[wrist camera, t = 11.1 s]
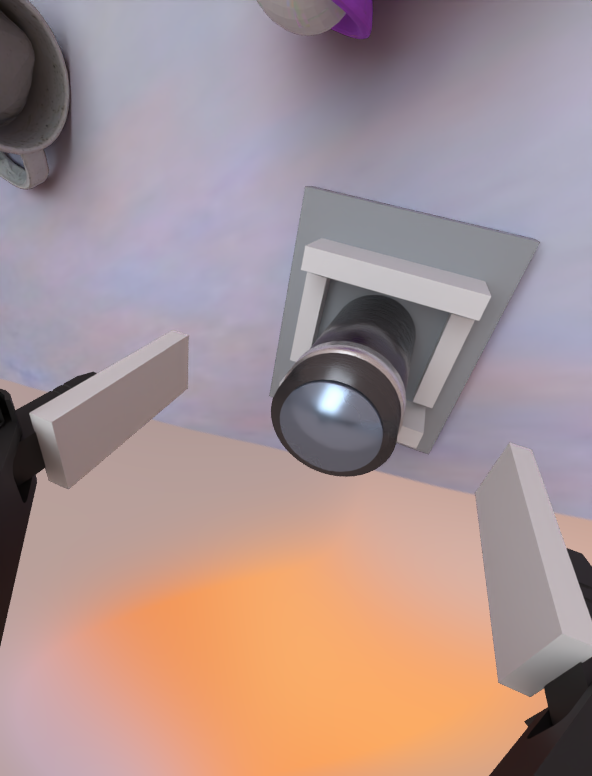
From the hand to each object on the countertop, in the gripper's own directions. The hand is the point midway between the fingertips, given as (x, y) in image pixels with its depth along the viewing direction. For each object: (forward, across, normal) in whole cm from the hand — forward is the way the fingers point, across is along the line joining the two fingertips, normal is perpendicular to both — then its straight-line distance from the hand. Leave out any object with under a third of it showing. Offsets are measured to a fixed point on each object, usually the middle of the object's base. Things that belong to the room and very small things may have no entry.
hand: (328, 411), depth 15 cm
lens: (+9, 0, 0) cm, 9 cm away
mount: (+10, +1, 0) cm, 10 cm away
